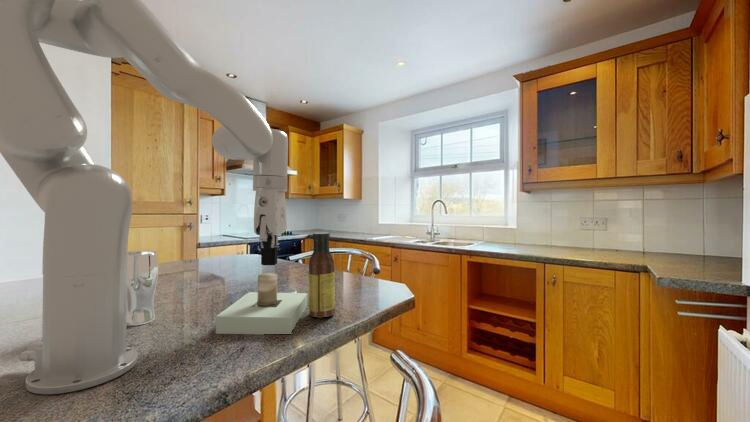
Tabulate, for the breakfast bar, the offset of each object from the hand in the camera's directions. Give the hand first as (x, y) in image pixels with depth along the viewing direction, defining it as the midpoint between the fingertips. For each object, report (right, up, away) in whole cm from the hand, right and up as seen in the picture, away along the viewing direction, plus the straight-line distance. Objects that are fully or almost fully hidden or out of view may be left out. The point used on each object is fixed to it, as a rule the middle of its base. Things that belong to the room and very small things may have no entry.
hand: (269, 264), depth 73 cm
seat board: (-1, -12, 0) cm, 12 cm away
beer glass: (-27, -12, -4) cm, 30 cm away
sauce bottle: (+11, -13, +3) cm, 18 cm away
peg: (-1, -12, 0) cm, 13 cm away
